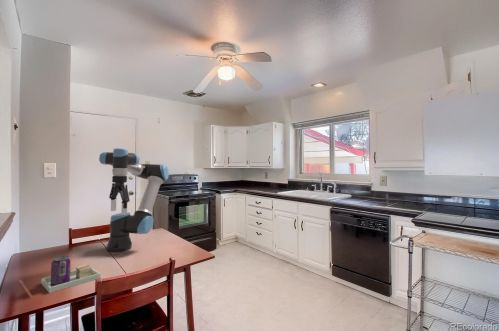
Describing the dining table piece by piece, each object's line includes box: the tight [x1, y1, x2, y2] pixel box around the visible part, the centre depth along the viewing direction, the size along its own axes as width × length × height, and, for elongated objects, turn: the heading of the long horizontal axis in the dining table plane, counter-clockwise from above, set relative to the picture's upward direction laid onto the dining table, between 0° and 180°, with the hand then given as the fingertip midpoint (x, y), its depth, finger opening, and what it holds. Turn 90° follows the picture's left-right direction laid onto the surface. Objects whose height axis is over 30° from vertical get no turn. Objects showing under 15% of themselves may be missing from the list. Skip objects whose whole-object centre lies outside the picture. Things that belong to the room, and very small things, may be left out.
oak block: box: [75, 263, 93, 279], centre depth 125 cm, size 5×5×5 cm
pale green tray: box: [41, 267, 101, 294], centre depth 121 cm, size 13×20×3 cm, turn 141°
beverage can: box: [50, 255, 71, 286], centre depth 117 cm, size 7×7×12 cm
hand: (118, 212), depth 146 cm, fingers open, 13 cm apart
